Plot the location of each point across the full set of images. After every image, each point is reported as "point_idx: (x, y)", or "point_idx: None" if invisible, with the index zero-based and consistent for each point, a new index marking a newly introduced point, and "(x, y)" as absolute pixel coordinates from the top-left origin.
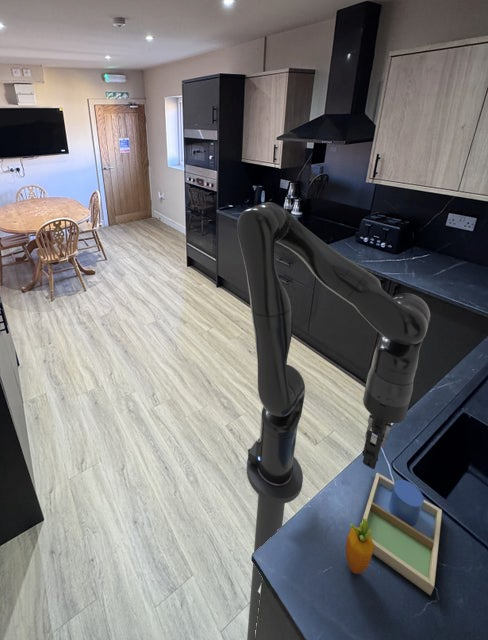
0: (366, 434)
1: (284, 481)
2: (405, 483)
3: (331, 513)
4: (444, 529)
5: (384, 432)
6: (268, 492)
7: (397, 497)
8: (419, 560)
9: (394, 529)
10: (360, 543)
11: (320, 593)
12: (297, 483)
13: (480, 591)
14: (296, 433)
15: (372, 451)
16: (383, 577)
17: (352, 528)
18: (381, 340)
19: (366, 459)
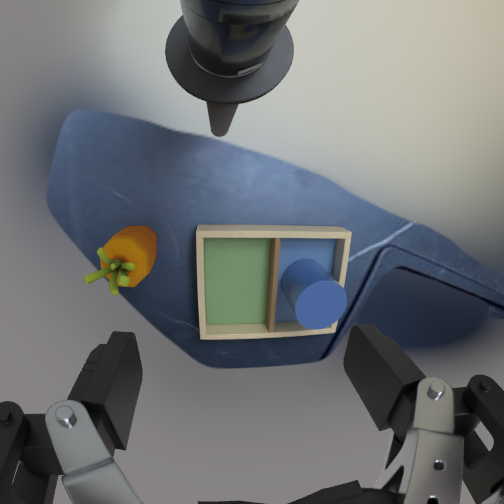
0: (72, 501)
1: (207, 69)
2: (339, 297)
3: (218, 171)
4: None
5: (363, 398)
6: (172, 56)
7: (300, 289)
8: (236, 313)
9: (262, 275)
10: (107, 266)
11: (87, 201)
12: (231, 93)
13: (253, 367)
14: (256, 14)
15: (51, 465)
16: (175, 272)
17: (128, 242)
18: None
19: (80, 378)
